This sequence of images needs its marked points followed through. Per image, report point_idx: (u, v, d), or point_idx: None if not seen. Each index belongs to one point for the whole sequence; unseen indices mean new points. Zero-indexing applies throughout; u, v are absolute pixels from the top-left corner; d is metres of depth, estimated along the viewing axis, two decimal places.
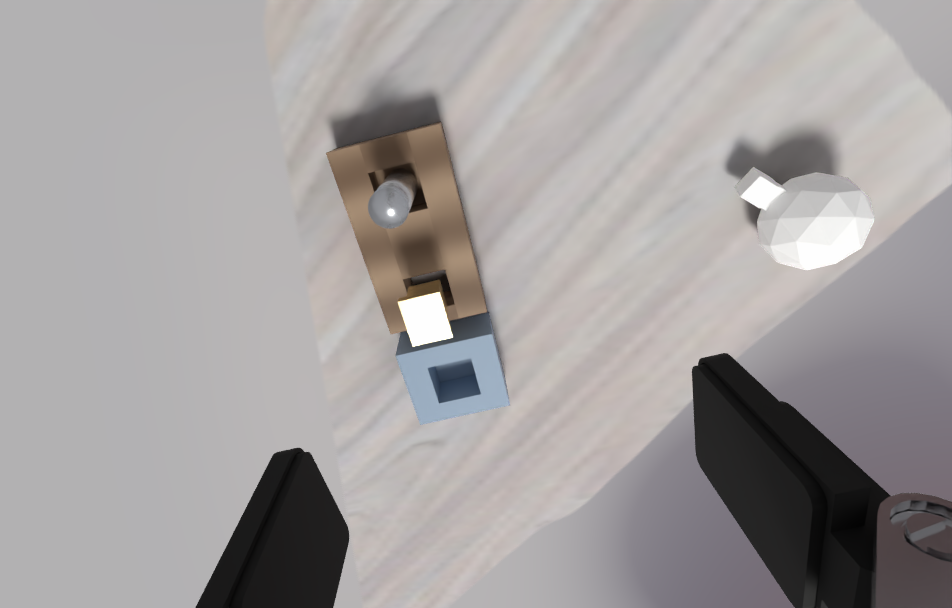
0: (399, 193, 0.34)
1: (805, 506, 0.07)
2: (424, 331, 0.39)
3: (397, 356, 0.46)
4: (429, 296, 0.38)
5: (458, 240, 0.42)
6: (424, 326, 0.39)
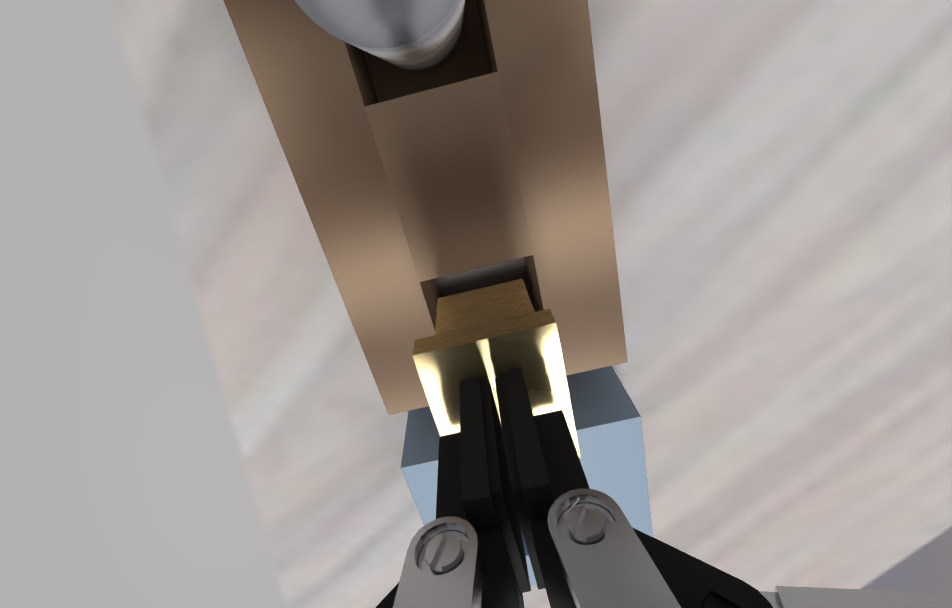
0: None
1: None
2: None
3: (405, 469, 0.19)
4: (520, 336, 0.11)
5: (577, 172, 0.15)
6: None
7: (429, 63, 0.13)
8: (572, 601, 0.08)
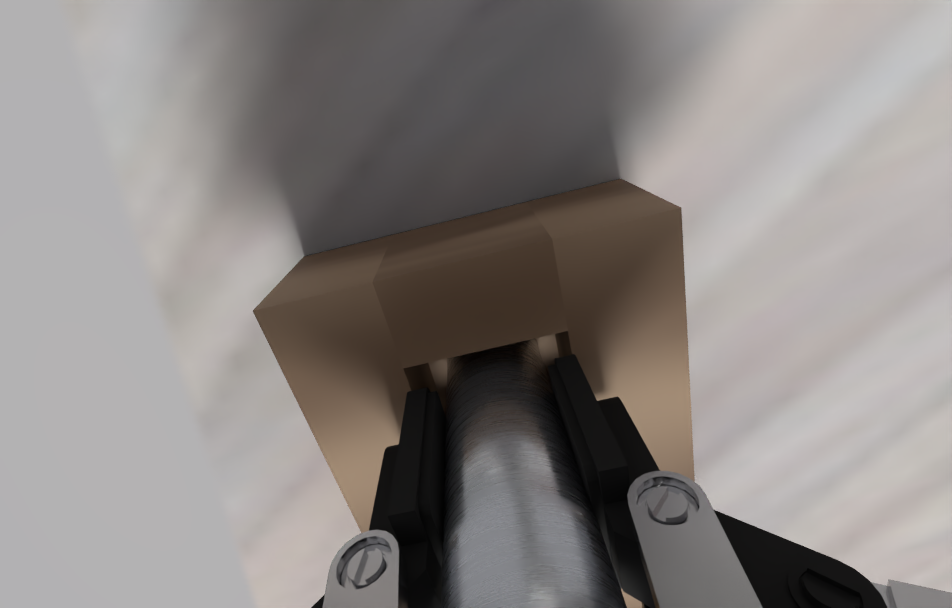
0: None
1: (586, 483, 0.08)
2: None
3: None
4: None
5: None
6: None
7: None
8: None
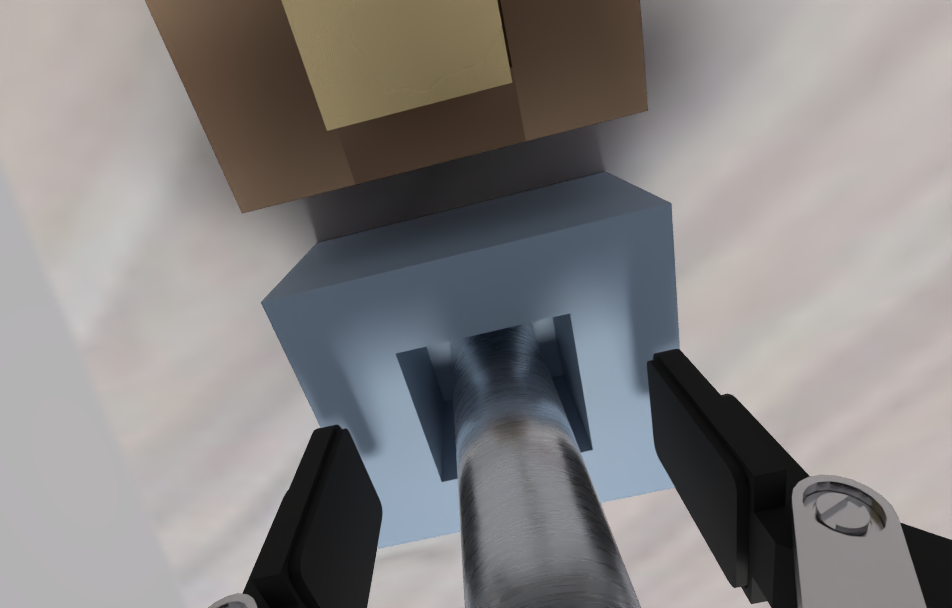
0: None
1: (731, 488, 0.07)
2: (377, 43, 0.08)
3: (269, 304, 0.11)
4: None
5: None
6: (376, 11, 0.08)
7: None
8: None
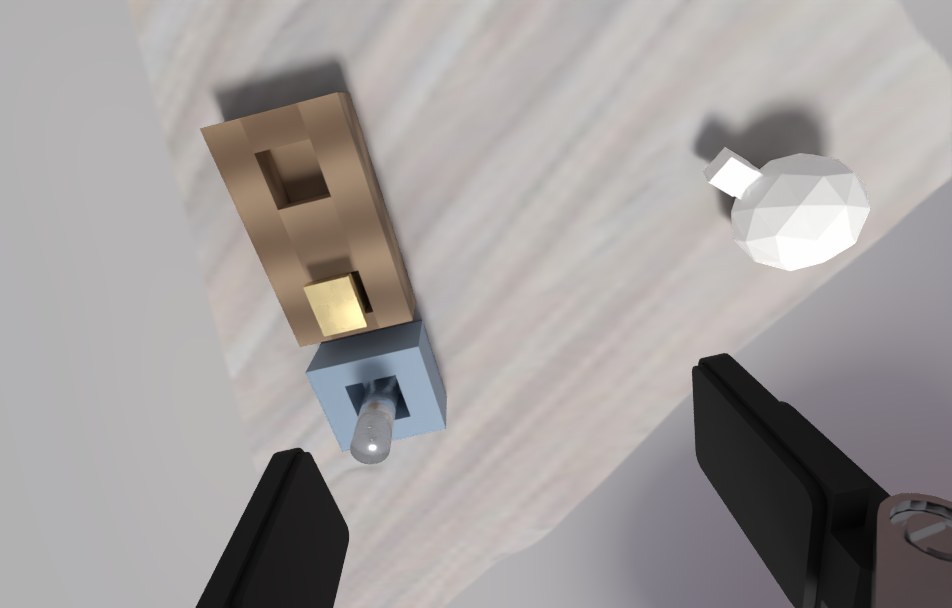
0: (381, 436, 0.35)
1: (805, 506, 0.07)
2: (335, 320, 0.36)
3: (307, 373, 0.39)
4: (337, 281, 0.35)
5: (371, 235, 0.35)
6: (335, 314, 0.36)
7: None
8: None
